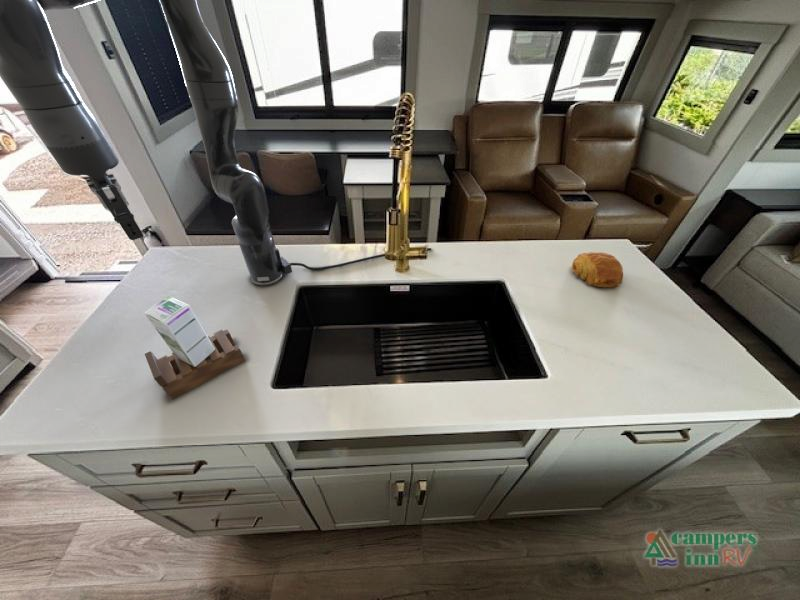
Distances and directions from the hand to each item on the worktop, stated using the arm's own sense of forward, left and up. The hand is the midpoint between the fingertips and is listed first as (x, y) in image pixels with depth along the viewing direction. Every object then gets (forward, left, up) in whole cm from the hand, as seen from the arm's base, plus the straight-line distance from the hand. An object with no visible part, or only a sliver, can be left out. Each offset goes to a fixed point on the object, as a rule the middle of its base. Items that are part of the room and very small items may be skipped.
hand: (131, 228), depth 61 cm
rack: (+2, +11, -31) cm, 33 cm away
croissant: (-106, +55, -31) cm, 124 cm away
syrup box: (+2, +11, -26) cm, 29 cm away
